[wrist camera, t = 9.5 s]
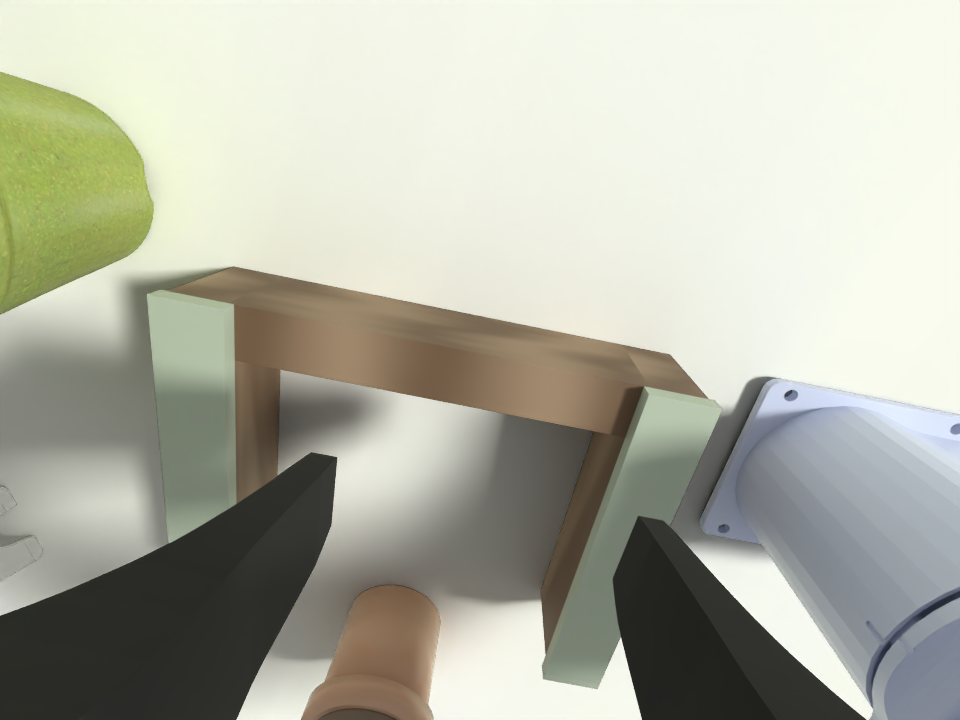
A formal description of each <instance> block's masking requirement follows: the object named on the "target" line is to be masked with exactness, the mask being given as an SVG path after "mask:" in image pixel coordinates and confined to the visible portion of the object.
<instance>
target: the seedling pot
mask: <svg viewBox="0 0 960 720" xmlns="http://www.w3.org/2000/svg"><path fill="white" fill-rule="evenodd" d="M439 630H440V616H439V613H438V611H437V609H436V607H435V606H434V604H433V603H432V602H431V601H430V600H429V599H428V598H427V597H425V596H424V595H422V594H421V593H419V592H417V591H415V590H412V589H410V588H406V587H402V586H396V585H382V586H376V587H373V588H370V589H368V590H365V591H364V592H362V593H361V594H360V595H358V596H357V598H356V599H355V600H354V602H353V604H352V607H351V609H350V612H349V615H348V618H347V620H346V623H345V626H344V629H343V632H342V634H341V637H340V640H339V643H338V646H337V648H336V651H335V654H334V657H333V659H332V662H331V665H330V668H329V671H328V673H327V676H326V679H325V682H324V683H322V684H320V685H319V686H318V687H317V688H316V689H315V690H314V691H313V692H312V694H311V695H310V697H309V700H308V702H307V705H306V708H305V710H304V713H303V716H302V718H301V720H434V718H433V714H432V711H431V709H430V708H429V706H428V702H429V695H430V689H431V682H432V676H433V669H434V663H435V656H436V649H437V643H438V636H439Z"/></svg>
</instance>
